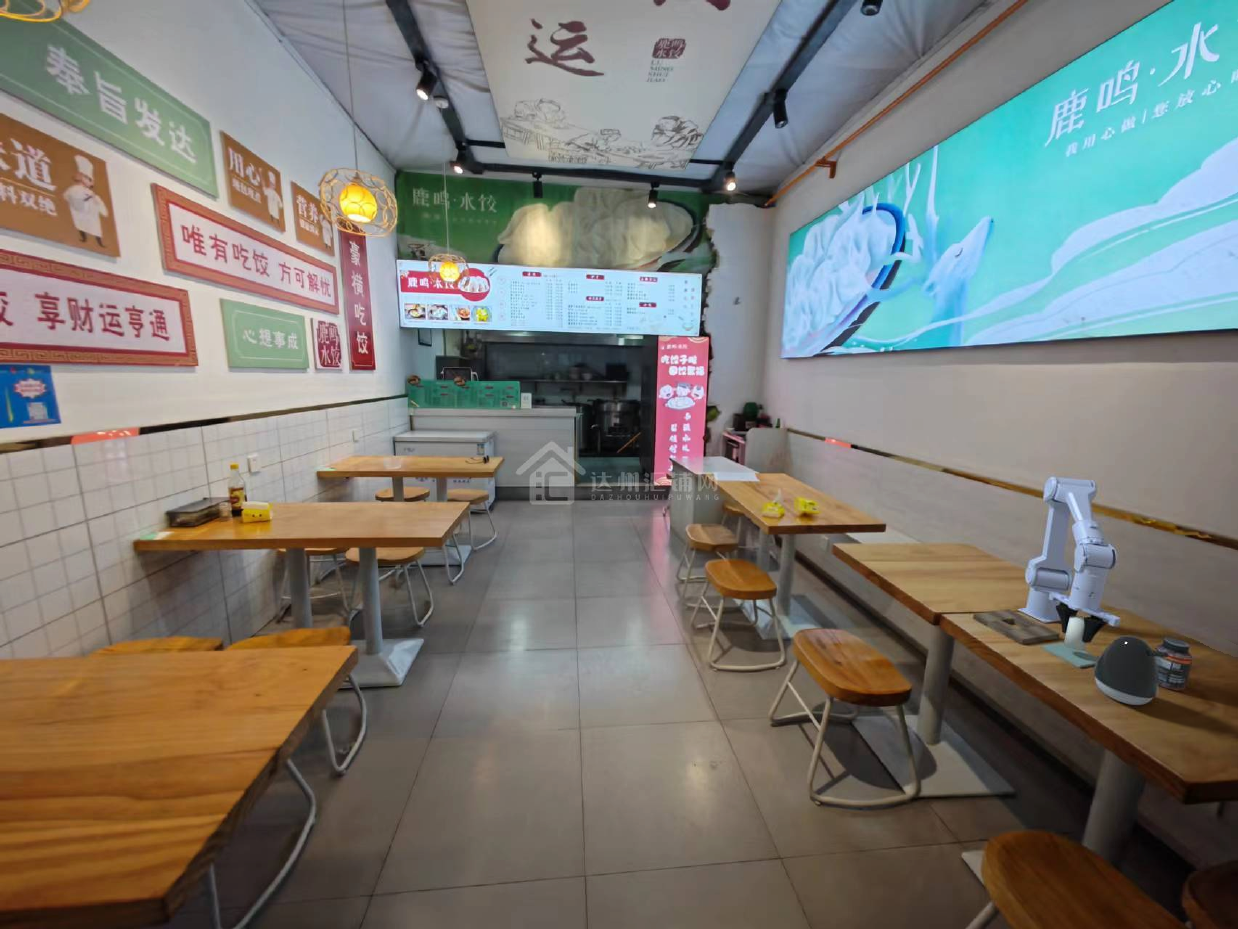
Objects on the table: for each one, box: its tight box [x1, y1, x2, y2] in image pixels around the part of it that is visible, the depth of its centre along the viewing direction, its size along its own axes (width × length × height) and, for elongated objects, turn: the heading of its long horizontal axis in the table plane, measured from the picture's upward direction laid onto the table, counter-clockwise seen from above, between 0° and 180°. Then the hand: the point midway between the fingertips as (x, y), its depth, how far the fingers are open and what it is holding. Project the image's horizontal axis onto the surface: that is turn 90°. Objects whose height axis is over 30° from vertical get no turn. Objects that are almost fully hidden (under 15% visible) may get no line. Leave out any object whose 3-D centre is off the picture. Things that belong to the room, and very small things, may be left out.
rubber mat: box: [1040, 642, 1100, 669], centre depth 126 cm, size 9×9×1 cm
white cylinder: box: [1064, 614, 1087, 651], centre depth 124 cm, size 4×4×8 cm
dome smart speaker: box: [1092, 635, 1169, 706], centre depth 108 cm, size 10×10×15 cm
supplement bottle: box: [1154, 637, 1194, 692], centre depth 114 cm, size 6×6×11 cm
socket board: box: [972, 609, 1061, 645], centre depth 139 cm, size 14×14×2 cm
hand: (1076, 637), depth 125 cm, fingers closed on white cylinder, 4 cm apart
